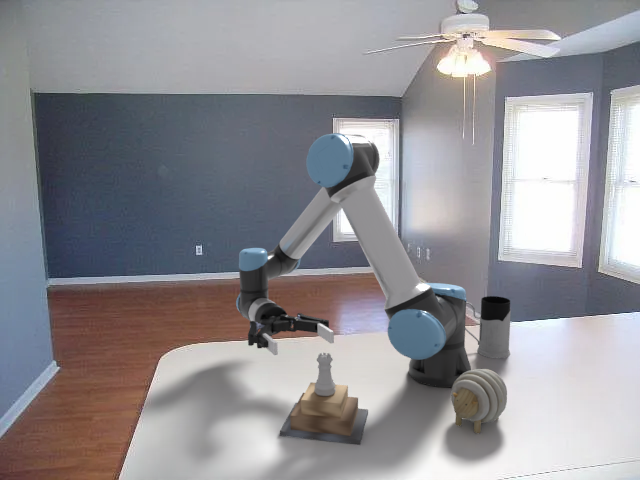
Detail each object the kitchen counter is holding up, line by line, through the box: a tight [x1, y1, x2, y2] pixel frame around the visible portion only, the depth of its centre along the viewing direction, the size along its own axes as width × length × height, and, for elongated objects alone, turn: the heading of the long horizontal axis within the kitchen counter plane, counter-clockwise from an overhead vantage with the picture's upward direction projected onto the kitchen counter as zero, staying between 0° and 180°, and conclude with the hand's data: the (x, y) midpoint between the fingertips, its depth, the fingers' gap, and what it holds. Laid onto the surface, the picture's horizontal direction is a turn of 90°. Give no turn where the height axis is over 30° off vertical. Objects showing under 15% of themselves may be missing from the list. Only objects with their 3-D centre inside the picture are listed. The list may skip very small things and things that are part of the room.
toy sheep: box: [450, 368, 508, 434], centre depth 105 cm, size 11×17×11 cm, turn 138°
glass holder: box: [465, 295, 512, 359], centre depth 142 cm, size 9×14×15 cm, turn 71°
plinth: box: [279, 382, 369, 445], centre depth 105 cm, size 16×12×7 cm
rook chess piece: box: [314, 352, 336, 397], centre depth 104 cm, size 4×4×8 cm
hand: (304, 343), depth 111 cm, fingers open, 13 cm apart
